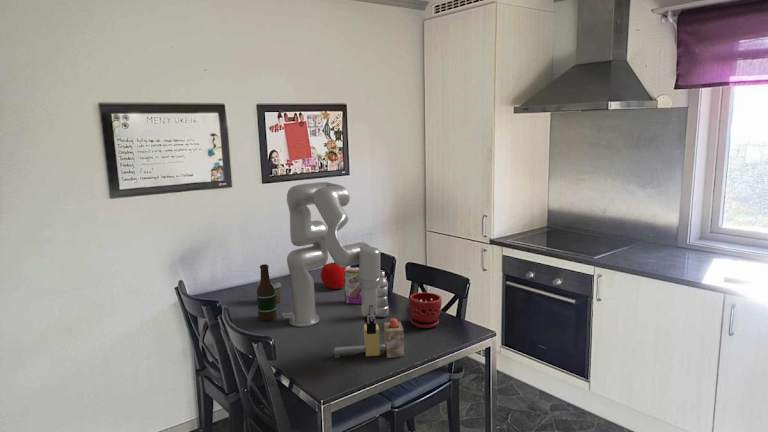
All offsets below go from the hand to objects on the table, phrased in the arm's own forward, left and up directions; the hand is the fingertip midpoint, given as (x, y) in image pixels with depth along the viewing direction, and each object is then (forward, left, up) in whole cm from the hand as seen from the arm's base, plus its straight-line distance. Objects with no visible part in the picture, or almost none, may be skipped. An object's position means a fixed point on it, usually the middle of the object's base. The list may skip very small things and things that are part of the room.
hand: (370, 327), depth 181 cm
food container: (-43, +61, -10) cm, 76 cm away
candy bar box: (-1, +54, -10) cm, 55 cm away
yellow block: (0, -1, -9) cm, 9 cm away
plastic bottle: (+8, +35, -10) cm, 38 cm away
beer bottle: (-41, +41, -10) cm, 59 cm away
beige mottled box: (+8, -1, -10) cm, 13 cm away
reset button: (+8, -1, -2) cm, 9 cm away
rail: (-4, -1, -10) cm, 10 cm away
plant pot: (+25, +23, -10) cm, 36 cm away
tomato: (-11, +79, -10) cm, 81 cm away
